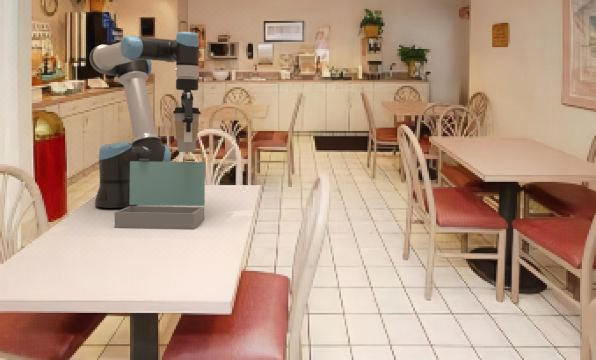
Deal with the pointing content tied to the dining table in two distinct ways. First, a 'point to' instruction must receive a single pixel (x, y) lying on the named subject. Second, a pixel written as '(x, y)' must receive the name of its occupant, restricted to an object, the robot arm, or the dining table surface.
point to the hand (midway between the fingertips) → (186, 140)
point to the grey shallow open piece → (159, 217)
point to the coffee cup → (179, 128)
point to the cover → (167, 183)
